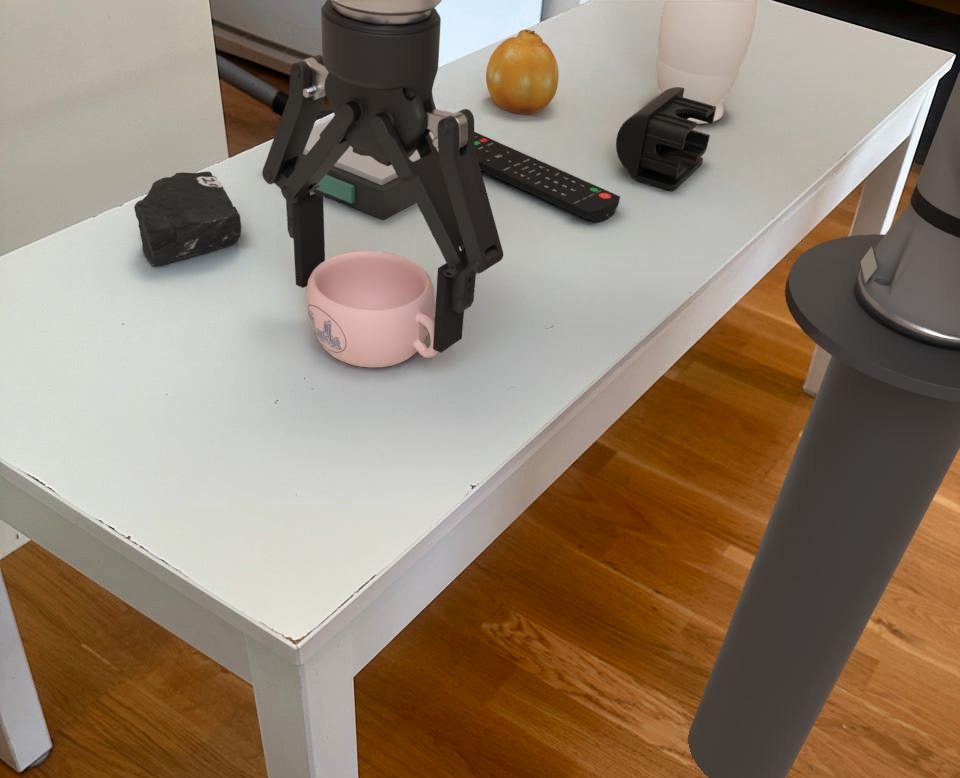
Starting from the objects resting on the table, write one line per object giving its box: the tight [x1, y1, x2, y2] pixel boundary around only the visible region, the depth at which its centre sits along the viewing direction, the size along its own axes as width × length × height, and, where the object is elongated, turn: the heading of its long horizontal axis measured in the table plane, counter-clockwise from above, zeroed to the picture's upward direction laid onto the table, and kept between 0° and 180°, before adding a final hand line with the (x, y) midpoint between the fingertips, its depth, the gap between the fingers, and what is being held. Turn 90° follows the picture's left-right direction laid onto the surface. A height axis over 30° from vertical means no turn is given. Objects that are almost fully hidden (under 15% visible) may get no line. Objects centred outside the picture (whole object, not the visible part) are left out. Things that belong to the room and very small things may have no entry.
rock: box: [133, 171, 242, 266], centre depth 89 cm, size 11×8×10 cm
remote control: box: [474, 131, 621, 223], centre depth 105 cm, size 5×24×1 cm, turn 48°
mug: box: [305, 250, 439, 368], centre depth 80 cm, size 12×10×6 cm
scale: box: [299, 118, 442, 221], centre depth 102 cm, size 14×14×3 cm
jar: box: [656, 0, 758, 125], centre depth 116 cm, size 11×10×15 cm
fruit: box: [485, 29, 559, 115], centre depth 116 cm, size 8×8×8 cm
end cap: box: [615, 87, 716, 192], centre depth 107 cm, size 10×7×7 cm
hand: (377, 311), depth 79 cm, fingers open, 13 cm apart
